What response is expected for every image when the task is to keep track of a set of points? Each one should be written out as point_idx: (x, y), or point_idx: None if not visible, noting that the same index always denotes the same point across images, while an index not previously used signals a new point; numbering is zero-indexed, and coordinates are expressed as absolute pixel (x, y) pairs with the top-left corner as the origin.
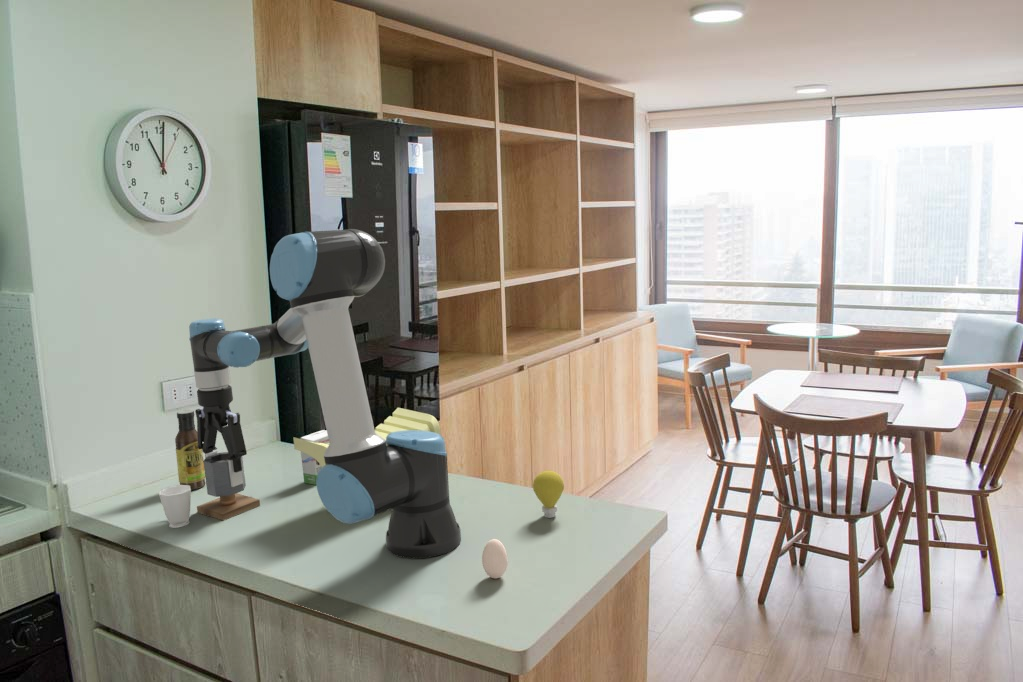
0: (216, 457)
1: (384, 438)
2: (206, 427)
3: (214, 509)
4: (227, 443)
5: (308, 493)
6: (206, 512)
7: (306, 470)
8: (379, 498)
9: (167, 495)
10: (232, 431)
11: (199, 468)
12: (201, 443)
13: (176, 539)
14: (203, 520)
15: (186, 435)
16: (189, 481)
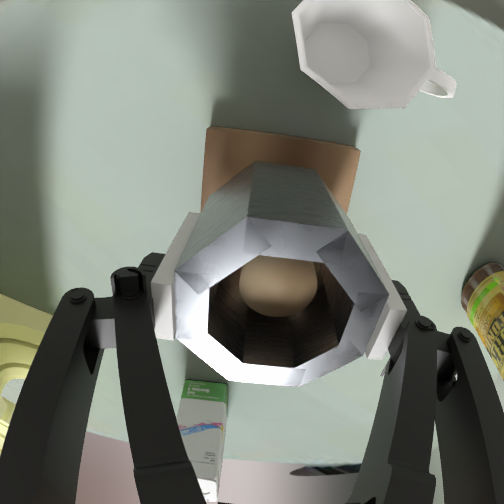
0: (343, 319)
1: (2, 443)
2: (403, 481)
3: (272, 149)
4: (127, 366)
5: (158, 344)
6: (304, 138)
7: (209, 407)
8: None
9: None
10: (8, 431)
11: (484, 323)
12: (456, 357)
13: None
14: (278, 101)
15: None
16: (489, 280)
